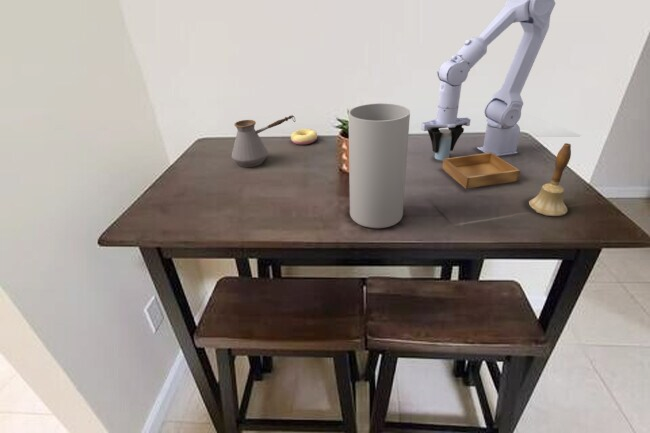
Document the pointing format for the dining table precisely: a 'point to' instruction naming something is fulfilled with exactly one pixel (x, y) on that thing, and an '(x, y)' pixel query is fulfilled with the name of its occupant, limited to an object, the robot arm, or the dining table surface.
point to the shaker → (444, 145)
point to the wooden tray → (480, 170)
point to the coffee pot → (251, 143)
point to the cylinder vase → (377, 163)
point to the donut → (304, 136)
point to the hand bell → (553, 188)
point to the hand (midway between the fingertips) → (442, 150)
